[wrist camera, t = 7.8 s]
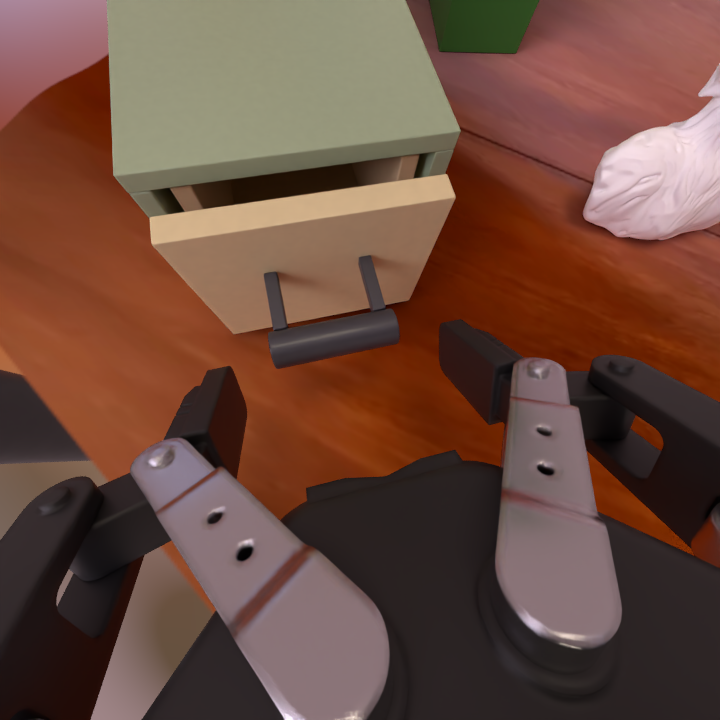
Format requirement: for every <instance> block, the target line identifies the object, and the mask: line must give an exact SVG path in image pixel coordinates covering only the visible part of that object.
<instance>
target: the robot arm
mask: <svg viewBox="0 0 720 720" xmlns="http://www.w3.org/2000/svg"><path fill="white" fill-rule="evenodd" d="M439 361H440V366H441V369H442V371H443V373H444V374H445V375H446V376H447V377H448V379H449V380H450V381H451V382H452V383H453V384H454V385H455V387H456V388H457V389H458V390H459V391H460V392H461V393H462V395H463V396H464V397H465V398H466V399H467V400H468V402H469V403H470V404H471V405H472V406H473V407H474V408H475V410H476V411H477V412H478V413H479V414H480V415H481V417H482V418H483V419H484V420H485V421H486V422H487V423H488V425H491V424H495V423H499V422H503V423H504V424H505V428H504V436H503V444H502V453H501V462H500V467H499V466H496V465H492V464H488V463H484V462H478V461H462V459H461V458H460V456H459V455H458V453H457V452H456V450H452V451H448V452H444V453H441V454H437V455H433V456H429V457H425V458H421V459H419V460H417V461H415V462H413V463H411V464H409V465H407V466H405V467H403V468H401V469H400V470H398V471H396V472H394V473H392V474H390V475H388V476H384V477H364V478H344V479H340V480H336V481H332V482H328V483H324V484H320V485H316V486H312V487H309V488H306V491H307V501H306V502H304V503H302V504H301V505H299V506H298V507H296V508H295V509H293V510H292V511H290V512H289V513H288V514H287V515H285V516H284V517H283V518H282V519H281V520H280V521H279V520H278V519H277V518H276V517H275V516H274V515H273V514H272V513H271V512H270V511H269V510H268V509H267V508H266V507H265V506H264V505H263V504H261V503H260V502H259V501H258V500H257V499H256V498H255V497H254V496H253V495H252V494H251V493H250V492H249V491H248V490H247V489H246V488H245V487H243V486H242V485H241V484H240V483H239V482H238V481H237V480H236V479H237V473H238V467H239V461H240V455H241V449H242V444H243V438H244V432H245V426H246V420H247V408H246V403H245V400H244V397H243V395H242V392H241V390H240V387H239V384H238V382H237V379H236V376H235V374H234V371H233V369H232V368H231V367H230V366H227V367H222V368H217V369H212V370H208V371H207V373H206V375H205V377H204V379H203V382H202V384H201V386H196V387H194V388H193V389H192V390H191V391H190V392H189V393H188V394H187V395H186V396H185V397H184V399H183V401H182V403H181V405H180V408H179V409H178V411H177V413H176V416H175V418H174V420H173V422H172V424H171V426H170V428H169V430H168V432H167V434H166V436H165V438H164V440H163V441H160V442H158V443H156V444H154V445H152V446H150V447H149V448H147V449H146V450H145V451H143V452H142V453H141V454H140V455H139V456H138V457H137V458H136V459H135V460H134V462H133V463H132V465H131V468H130V473H128V474H126V475H124V476H122V477H120V478H117V479H115V480H113V481H110V482H108V483H106V484H104V485H102V486H99V487H97V486H96V485H95V483H94V482H93V481H92V480H91V479H90V478H88V477H83V476H82V477H75V478H71V479H68V480H65V481H62V482H60V483H58V484H56V485H54V486H52V487H51V488H49V489H47V490H46V491H44V492H43V493H41V494H40V495H39V496H37V497H36V498H35V499H34V500H33V501H32V502H30V503H29V504H28V505H27V506H26V508H25V509H24V510H23V511H22V513H21V514H20V515H19V516H18V518H17V519H16V520H15V522H14V523H13V525H12V526H11V527H10V528H9V530H8V531H7V532H6V534H5V535H4V536H3V538H2V539H1V540H0V720H90V719H91V716H92V713H93V710H94V707H95V704H96V701H97V698H98V695H99V692H100V689H101V686H102V682H103V680H104V677H105V674H106V671H107V668H108V665H109V661H110V658H111V655H112V652H113V649H114V646H115V643H116V640H117V637H118V634H119V631H120V628H121V625H122V622H123V619H124V616H125V613H126V610H127V607H128V603H129V601H130V598H131V594H132V591H133V588H134V585H135V582H136V579H137V576H138V573H139V570H140V567H141V564H142V561H143V557H144V555H145V554H147V553H149V552H151V551H152V550H154V549H156V548H158V547H160V546H162V545H164V544H165V543H167V542H169V541H171V540H172V541H173V543H174V544H175V546H176V547H177V549H178V551H179V552H180V554H181V555H182V557H183V558H184V560H185V562H186V563H187V565H188V566H189V568H190V569H191V571H192V573H193V574H194V576H195V577H196V579H197V580H198V582H199V583H200V585H201V587H202V588H203V590H204V591H205V593H206V594H207V596H208V598H209V599H210V601H211V602H212V604H213V605H214V607H215V609H216V611H215V613H214V614H213V616H212V617H211V618H210V620H209V621H208V623H207V625H206V626H205V627H204V629H203V631H202V632H201V633H200V635H199V636H198V638H197V639H196V641H195V642H194V643H193V645H192V647H191V648H190V649H189V651H188V652H187V654H186V655H185V657H184V658H183V660H182V661H181V663H180V664H179V666H178V667H177V669H176V670H175V671H174V673H173V674H172V676H171V677H170V679H169V680H168V682H167V683H166V685H165V686H164V688H163V689H162V691H161V692H160V694H159V695H158V696H157V698H156V699H155V701H154V702H153V704H152V705H151V707H150V708H149V710H148V711H147V713H146V714H145V716H144V717H143V719H142V720H720V402H718V401H716V400H714V399H712V398H710V397H708V396H706V395H704V394H702V393H701V392H699V391H697V390H695V389H693V388H691V387H689V386H687V385H685V384H683V383H681V382H679V381H678V380H676V379H674V378H672V377H670V376H668V375H666V374H664V373H662V372H660V371H658V370H656V369H655V368H653V367H651V366H649V365H647V364H645V363H643V362H641V361H639V360H636V359H633V358H630V357H625V356H619V355H603V356H598V357H596V358H594V359H593V360H592V364H591V367H590V371H573V372H565V369H564V368H563V367H562V366H561V365H559V364H558V363H556V362H554V361H551V360H548V359H543V358H524V357H522V356H521V355H519V354H518V353H516V352H515V351H514V350H512V349H511V348H509V347H508V346H506V345H504V344H503V343H502V342H501V341H499V340H497V339H496V338H495V337H494V336H492V335H491V334H489V333H488V332H485V331H482V330H479V329H476V328H475V329H474V328H472V327H471V326H470V325H468V324H467V323H466V322H464V321H463V320H461V319H459V320H454V321H449V322H444V323H441V325H440V329H439ZM636 415H637V416H639V417H640V418H642V419H643V420H644V421H646V422H647V423H649V424H650V425H652V426H653V427H654V428H656V429H657V430H658V431H659V433H660V434H661V436H662V438H663V442H664V446H663V449H662V451H659V450H658V449H657V448H655V447H654V446H653V445H651V444H650V443H649V442H647V441H646V440H645V439H643V438H642V437H641V436H639V435H638V434H637V433H635V432H634V431H633V430H631V429H630V428H631V426H632V423H633V421H634V418H635V416H636ZM586 450H587V451H588V452H589V453H590V454H591V455H592V456H593V457H595V458H596V459H597V460H598V461H599V462H600V463H601V464H602V465H603V466H604V467H605V468H606V469H607V470H608V471H609V472H611V473H612V474H613V475H614V476H615V477H616V478H617V479H618V480H619V481H620V482H621V483H622V484H623V485H624V486H625V487H626V488H628V489H629V490H630V491H631V492H632V493H633V494H634V495H635V496H636V497H637V498H638V499H639V500H640V501H641V502H642V503H643V504H645V505H646V506H647V507H648V508H649V509H650V510H651V511H652V512H653V513H654V514H655V515H656V516H657V517H658V518H659V519H660V520H662V521H663V522H664V523H665V524H666V525H667V526H668V527H669V528H670V529H671V530H672V531H673V532H674V533H675V534H676V535H678V536H679V537H680V538H681V539H682V540H683V541H684V542H685V543H686V544H687V545H688V546H689V547H690V548H691V549H692V551H693V554H694V556H693V555H691V554H689V553H686V552H684V551H682V550H680V549H678V548H676V547H673V546H671V545H669V544H667V543H665V542H663V541H660V540H658V539H656V538H654V537H652V536H650V535H647V534H645V533H643V532H641V531H639V530H637V529H634V528H632V527H630V526H628V525H626V524H624V523H621V522H619V521H617V520H615V519H613V518H611V517H608V516H606V515H604V514H602V513H600V512H598V511H597V510H596V504H595V498H594V493H593V487H592V481H591V475H590V469H589V464H588V458H587V452H586ZM68 569H70V570H71V571H72V572H73V573H74V574H73V576H72V578H71V580H70V582H69V584H68V586H67V588H66V590H65V592H64V594H63V596H62V598H61V600H60V602H59V604H58V606H57V605H56V597H57V592H58V589H59V587H60V585H61V583H62V581H63V579H64V577H65V575H66V573H67V571H68Z"/></svg>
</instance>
